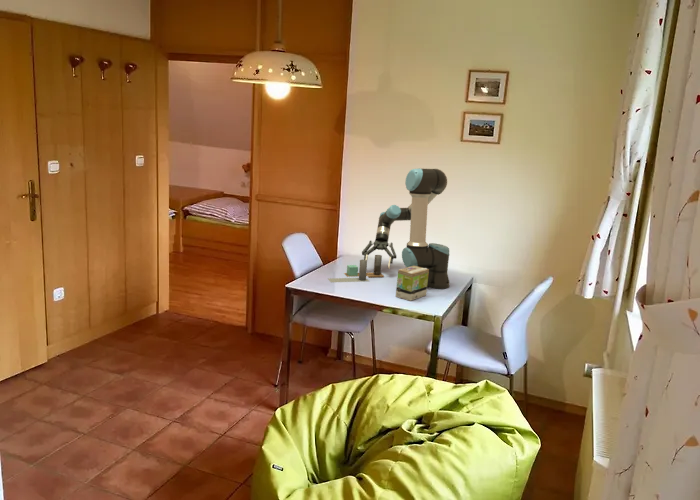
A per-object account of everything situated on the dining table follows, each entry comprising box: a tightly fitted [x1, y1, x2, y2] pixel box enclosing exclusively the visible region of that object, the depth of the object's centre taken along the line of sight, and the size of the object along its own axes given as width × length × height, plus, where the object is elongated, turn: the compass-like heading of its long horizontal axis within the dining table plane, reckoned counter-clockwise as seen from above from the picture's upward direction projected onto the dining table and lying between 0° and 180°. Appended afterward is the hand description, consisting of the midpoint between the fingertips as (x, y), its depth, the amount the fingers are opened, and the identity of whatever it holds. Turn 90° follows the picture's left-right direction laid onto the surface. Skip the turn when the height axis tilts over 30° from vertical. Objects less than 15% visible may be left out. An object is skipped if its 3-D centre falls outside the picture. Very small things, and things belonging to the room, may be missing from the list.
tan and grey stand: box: [343, 254, 385, 279], centre depth 351 cm, size 7×22×12 cm, turn 106°
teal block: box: [346, 264, 359, 277], centre depth 350 cm, size 5×5×5 cm
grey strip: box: [327, 259, 370, 283], centre depth 339 cm, size 7×22×12 cm, turn 106°
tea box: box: [395, 266, 429, 302], centre depth 320 cm, size 15×10×15 cm, turn 141°
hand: (377, 266), depth 353 cm, fingers open, 13 cm apart
